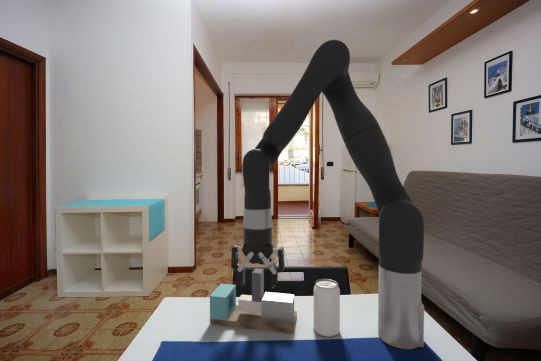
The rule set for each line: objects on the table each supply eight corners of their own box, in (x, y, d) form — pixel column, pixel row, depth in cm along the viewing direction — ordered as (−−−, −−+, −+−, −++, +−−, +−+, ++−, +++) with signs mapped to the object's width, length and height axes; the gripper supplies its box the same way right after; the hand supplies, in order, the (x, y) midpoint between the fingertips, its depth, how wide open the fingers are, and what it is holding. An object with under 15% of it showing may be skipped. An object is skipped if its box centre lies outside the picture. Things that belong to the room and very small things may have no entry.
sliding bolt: (292, 309, 73) (292, 270, 73) (290, 316, 69) (290, 275, 69) (242, 304, 76) (241, 267, 75) (238, 311, 72) (237, 272, 72)
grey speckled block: (294, 313, 74) (294, 294, 73) (292, 323, 69) (292, 302, 69) (265, 311, 75) (265, 291, 75) (261, 320, 70) (261, 299, 70)
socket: (235, 305, 78) (235, 284, 78) (226, 320, 70) (226, 297, 70) (221, 303, 79) (220, 283, 79) (209, 318, 71) (209, 296, 71)
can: (340, 339, 65) (340, 289, 64) (312, 336, 66) (313, 287, 66) (339, 324, 71) (339, 279, 71) (314, 321, 72) (314, 277, 72)
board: (296, 316, 75) (296, 311, 75) (293, 333, 67) (293, 327, 67) (221, 309, 79) (221, 303, 79) (210, 324, 71) (209, 318, 71)
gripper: (286, 223, 74) (286, 281, 75) (236, 221, 77) (236, 278, 78) (282, 229, 67) (282, 294, 68) (227, 227, 70) (227, 289, 70)
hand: (257, 285), depth 73 cm, fingers open, 8 cm apart
